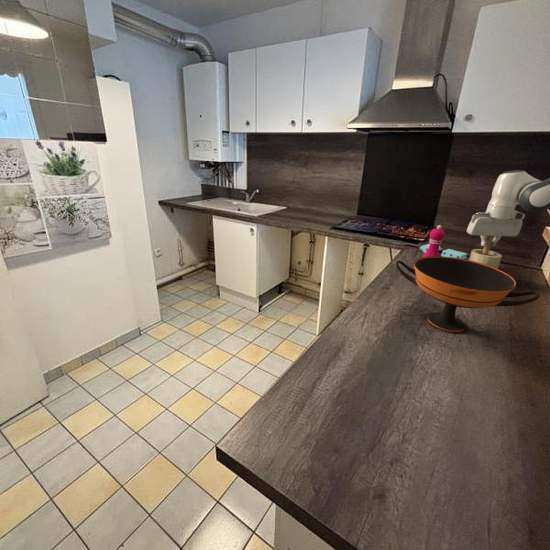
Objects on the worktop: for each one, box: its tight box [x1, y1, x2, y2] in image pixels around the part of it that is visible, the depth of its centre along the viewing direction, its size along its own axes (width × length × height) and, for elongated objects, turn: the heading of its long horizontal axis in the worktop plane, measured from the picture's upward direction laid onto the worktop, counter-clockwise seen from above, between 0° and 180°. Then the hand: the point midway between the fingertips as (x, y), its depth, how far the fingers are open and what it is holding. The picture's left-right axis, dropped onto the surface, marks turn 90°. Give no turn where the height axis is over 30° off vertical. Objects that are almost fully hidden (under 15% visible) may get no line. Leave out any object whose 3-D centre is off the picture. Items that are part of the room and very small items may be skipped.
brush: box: [482, 236, 495, 256], centre depth 124 cm, size 5×5×16 cm
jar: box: [468, 248, 503, 269], centre depth 125 cm, size 11×11×11 cm
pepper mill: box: [422, 224, 446, 257], centre depth 131 cm, size 7×7×20 cm
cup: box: [395, 255, 541, 333], centre depth 87 cm, size 36×26×18 cm
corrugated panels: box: [419, 243, 468, 260], centre depth 147 cm, size 34×3×10 cm
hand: (487, 245), depth 122 cm, fingers closed on brush, 2 cm apart
